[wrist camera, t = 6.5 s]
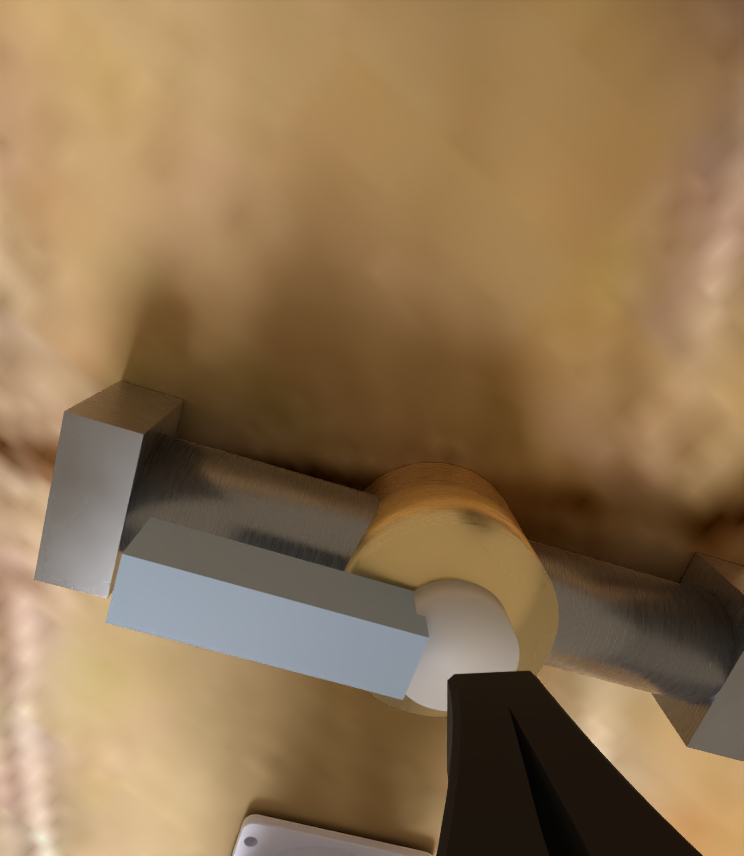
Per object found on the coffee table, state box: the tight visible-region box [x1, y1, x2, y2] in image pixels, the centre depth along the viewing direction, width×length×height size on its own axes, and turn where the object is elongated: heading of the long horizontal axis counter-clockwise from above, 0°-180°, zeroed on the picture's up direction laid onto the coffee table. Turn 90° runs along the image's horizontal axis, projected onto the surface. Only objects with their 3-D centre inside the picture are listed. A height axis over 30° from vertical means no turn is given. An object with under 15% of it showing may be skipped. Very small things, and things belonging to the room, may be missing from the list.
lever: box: [106, 517, 520, 711], centre depth 14 cm, size 10×3×2 cm, turn 72°
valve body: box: [34, 381, 744, 761], centre depth 18 cm, size 22×6×4 cm, turn 72°
